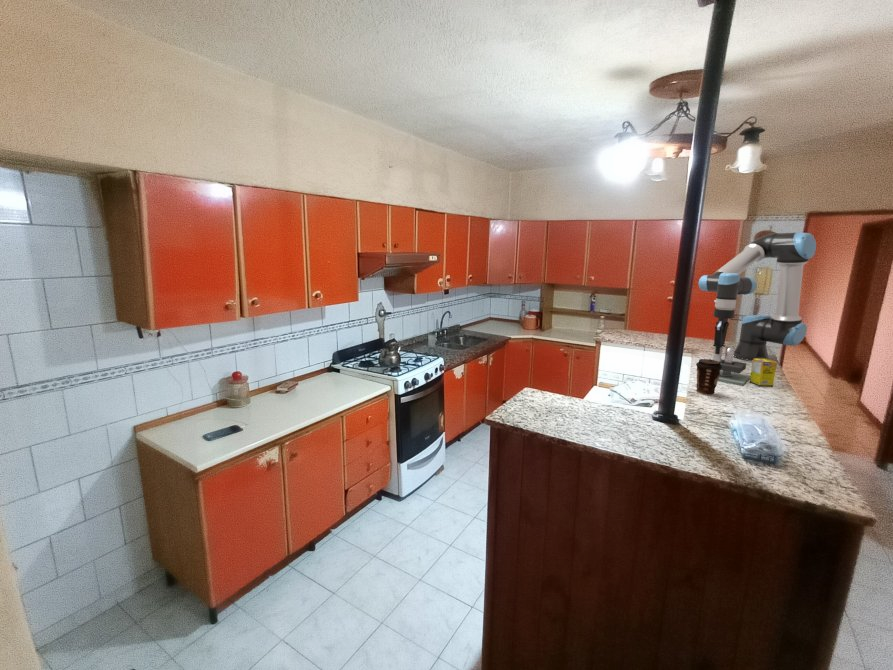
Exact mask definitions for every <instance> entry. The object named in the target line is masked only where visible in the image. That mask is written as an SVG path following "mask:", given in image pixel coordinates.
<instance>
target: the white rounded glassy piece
mask: <svg viewBox="0 0 893 670" xmlns="http://www.w3.org/2000/svg"><path fill="white" fill-rule="evenodd" d="M735 349H736V347H733V346H725V354H724V359H723V360H724V364H730V365H732V361H734V357H733V355H734V351H735ZM722 371H723V370H722ZM720 375H721V376H725V377H732V374H731V372H728V371H723V372H722V373H721V374H720Z"/></svg>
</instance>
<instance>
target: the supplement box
mask: <svg viewBox="0 0 893 670" xmlns="http://www.w3.org/2000/svg"><path fill="white" fill-rule="evenodd" d="M777 365H778V362H777V361H775V360H772V359H770V358H768V359H758V358H754V359H753V361H752V364H751V372H750V375H749V376H750V380H749V381H748V383H750V384H752V385H754V386H756V387H758V388H773V387H774V382H775V376H776V372H777V371H776V370H777Z"/></svg>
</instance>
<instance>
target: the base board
mask: <svg viewBox="0 0 893 670" xmlns="http://www.w3.org/2000/svg"><path fill="white" fill-rule="evenodd" d="M722 372H723V370H720V374H721V373H722ZM731 374H732V377H725V376H721V375H719V379H718V382H720V383H723V384H724V383H726V384H729V385H730V384H731V385H735V386H739V387H744V386H745V385H746V384H748V383H749V382H750V376H751V375H748V374H743V373H740V374H739V373H734V372H731Z"/></svg>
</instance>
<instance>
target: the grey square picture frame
mask: <svg viewBox="0 0 893 670" xmlns="http://www.w3.org/2000/svg"><path fill="white" fill-rule="evenodd" d="M724 360H725V359H724V358H721V361H720V364H721V366H722V368H721V369H720V370H722V371H728V372H733V373H738V374H742V372H743V371H745V370H746V368H747V363H746V362H741V361H736V360H735V361H734V360H733V361H732V365H730V364H724ZM718 362H719V361H718Z"/></svg>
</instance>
